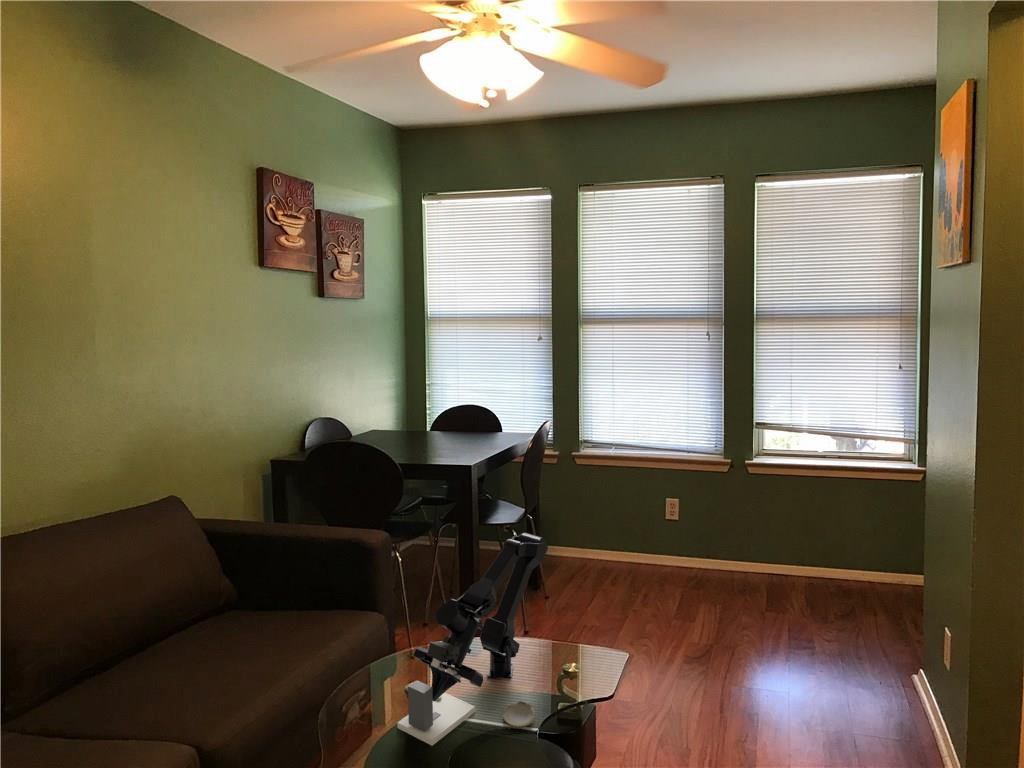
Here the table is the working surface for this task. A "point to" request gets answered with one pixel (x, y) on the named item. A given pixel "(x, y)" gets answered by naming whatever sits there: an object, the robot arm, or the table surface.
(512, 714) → the seashell
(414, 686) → the handle
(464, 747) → the table surface
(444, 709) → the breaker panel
